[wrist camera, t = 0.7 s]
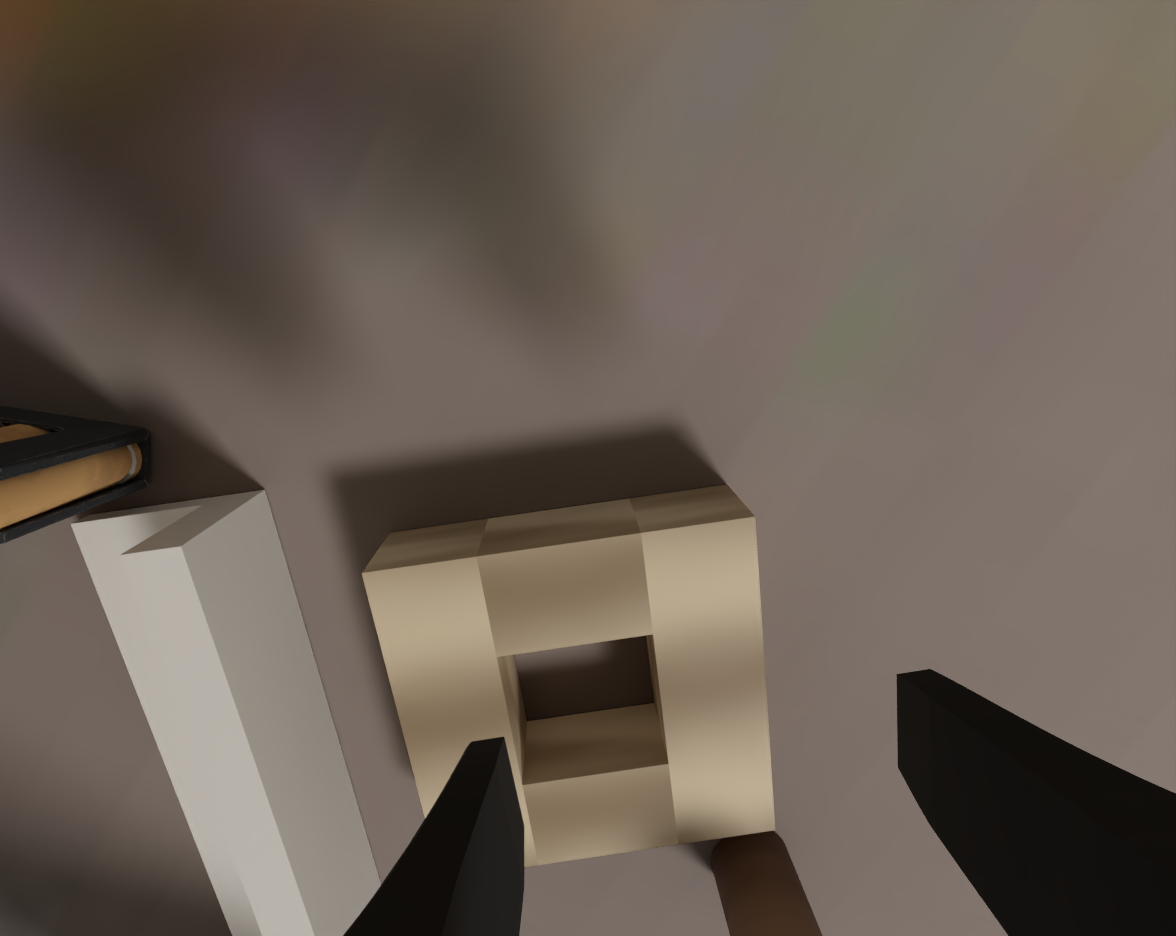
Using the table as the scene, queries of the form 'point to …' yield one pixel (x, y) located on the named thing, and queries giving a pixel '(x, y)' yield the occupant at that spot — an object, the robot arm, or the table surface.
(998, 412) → the table surface
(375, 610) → the block
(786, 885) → the dowel
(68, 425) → the ammunition clip
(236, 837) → the white rectangular slab
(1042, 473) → the table surface
